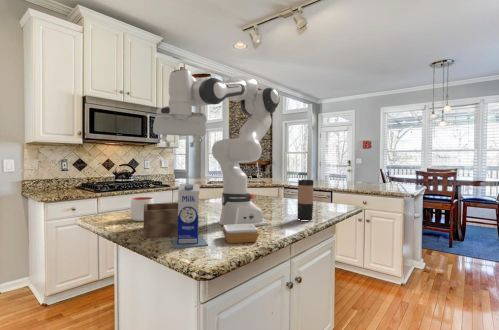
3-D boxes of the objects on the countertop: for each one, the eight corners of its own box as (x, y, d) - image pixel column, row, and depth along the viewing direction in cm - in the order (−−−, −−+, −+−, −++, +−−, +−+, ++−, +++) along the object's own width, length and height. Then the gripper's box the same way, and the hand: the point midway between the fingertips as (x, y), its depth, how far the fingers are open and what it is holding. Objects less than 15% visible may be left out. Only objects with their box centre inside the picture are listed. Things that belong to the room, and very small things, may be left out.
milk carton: (198, 238, 103) (199, 183, 102) (198, 243, 96) (199, 185, 96) (178, 238, 101) (179, 183, 101) (176, 244, 95) (177, 185, 94)
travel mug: (314, 222, 136) (315, 180, 136) (298, 221, 137) (299, 180, 136) (310, 218, 144) (311, 179, 144) (295, 218, 144) (296, 179, 144)
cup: (126, 219, 133) (126, 198, 133) (145, 216, 141) (145, 196, 141) (139, 222, 127) (139, 200, 127) (157, 219, 135) (158, 198, 135)
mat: (201, 237, 106) (201, 235, 106) (207, 245, 96) (207, 244, 96) (171, 239, 102) (171, 237, 102) (174, 248, 92) (174, 247, 92)
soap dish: (253, 236, 110) (253, 223, 110) (259, 243, 101) (260, 229, 100) (221, 237, 107) (221, 224, 107) (224, 245, 98) (225, 230, 98)
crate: (183, 225, 124) (183, 202, 124) (188, 234, 109) (189, 209, 108) (143, 227, 118) (144, 203, 118) (143, 238, 103) (143, 210, 103)
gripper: (204, 114, 117) (204, 147, 118) (152, 110, 110) (152, 146, 110) (208, 112, 111) (208, 147, 112) (153, 108, 104) (153, 146, 104)
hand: (180, 146), depth 111 cm, fingers open, 8 cm apart
